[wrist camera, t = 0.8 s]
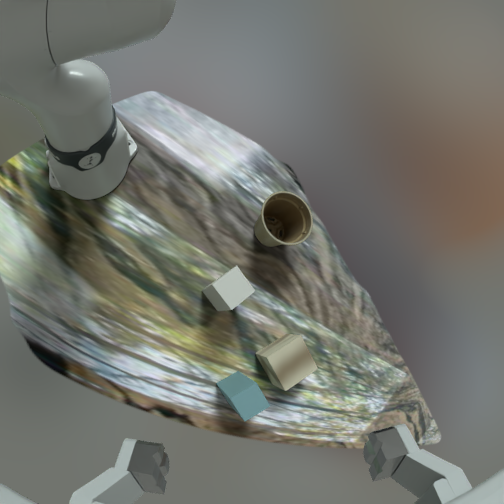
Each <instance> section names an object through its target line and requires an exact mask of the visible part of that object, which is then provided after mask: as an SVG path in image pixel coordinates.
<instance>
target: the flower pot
mask: <svg viewBox="0 0 504 504" xmlns="http://www.w3.org/2000/svg"><path fill="white" fill-rule="evenodd" d="M268 218H271V219H274V221H272V220H269V219H268ZM312 227H313V218H312V214H311V211H310V209H309V207H308V205H307V204H306V202H305V201H304V200H303V199H302V198H300V197H299V196H297V195H296V194H293V193H291V192H286V191H280V192H276V193H273V194H271V195H270V196H269V197H268V198H267V199H266V200H265V202H264V204H263V206H262V210H261V215H260V217H259V218H258V220H257V221H256V223H255V227H254V232H255V235H256V237H257V239H258V240H259V241H260V243H262V244H263V245H265V246H269V247H274V246H278V245H282V244H284V245H297V244H300V243H302V242H303V241H305V240H306V239H307V238H308V236H309V235H310V233H311V231H312ZM270 229H271V231H269V230H270ZM280 231H282V235H281V237H280V236H279V235H280Z"/></svg>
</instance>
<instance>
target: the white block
mask: <svg viewBox="0 0 504 504" xmlns="http://www.w3.org/2000/svg"><path fill="white" fill-rule="evenodd" d="M202 291H203V293H204V294H205V295H206V297H207V298H208V299H209V301H210V302H211V303H212V305H213V306H214V307H215V309H216V310H217V311H226V310H232V309H234V308H235V307H236V306H237V305H239V304H240V303H241V302H242V301H244V300H245V299H246V298H247V297H248V296H250V295H251V294H252V293H253V292H255V290H254V288H253V287H252V286H251V284H250V283H249V282H248V280H247V279H246V278H245V276H244V275H243V273H242V272H241V271H240V269H239V268H238V267H237V266H236V267H234V268H232V269H231V270H229V271H228V272H226V273H225V274H223V275H222V276H220V277H219V278H218V279H216V280H215V281H214V282H212V283H211V284H210V285H208V286H207V287H206V288H204V289H203V290H202Z"/></svg>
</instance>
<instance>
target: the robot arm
mask: <svg viewBox="0 0 504 504" xmlns="http://www.w3.org/2000/svg"><path fill="white" fill-rule="evenodd" d="M175 4H176V0H0V95H1V96H4V97H7V98H9V99H11V100H14V101H15V102H17V103H19V104H21V105H22V106H24V107H25V108H27V109H28V110H29V111H30V112H31V113H32V114H33V115H34V116H35V117H36V119H37V121H38V122H39V124H40V126H41V127H42V129H43V131H44V133H45V145H46V147H47V148H48V149H49V150H48V151H46V156H47V158H49V161H48V165H49V184H50V186H51V188H53V189H56V190H63V191H65V192H67V193H68V194H70V195H71V196H73V197H75V198H78V199H84V200H90V199H96V198H99V197H102V196H104V195H106V194H108V193H109V192H111V191H112V190H113V189H115V188H116V187H117V186H118V185H119V183H120V182H121V181H122V179H123V178H124V176H125V174H126V171H127V168H128V165H129V162H130V160H131V159H132V158H133V157H134V156H135V154H136V153H137V151H138V148H137V145H136V143H135V142H134V141H133V139H132V138H131V136H130V135H129V134H128V132H127V131H126V129H125V128H124V126H123V125H122V124H121V122H120V121H119V119H118V118H117V116H116V114H115V110H114V108H113V106H112V103H111V94H110V84H109V80H108V77H107V76H106V74H105V73H104V72H103V70H102V69H101V68H100V67H98V66H97V65H96V64H94V63H92V62H89V61H86V60H81V59H82V58H86V57H90V56H94V55H99V54H104V53H109V52H114V51H117V50H120V49H123V48H126V47H129V46H132V45H136V44H139V43H142V42H144V41H148V40H151V39H154V38H155V37H156V36H157V35H158V34H159V33H160V32H161V31H162V30H163V29H164V28H165V26H166V25H167V24H168V22H169V20H170V19H171V16H172V14H173V12H174V8H175ZM129 144H130V146H129ZM368 438H369V441H368V442H366V443H365V446H364V458H365V461H366V462H367V463H368V464H370V465H371V466H370V468H369V472H370V474H371V477H372V480H373V481H377V480H381V479H385V478H388V477H391V478H392V479H394V480H395V481H396V482H398V483H399V484H400V485H402V486H403V487H404V488H406V489H407V490H408V491H410V492H411V493H412V494H414V495H415V496H417V497H418V498H419V499H418V500H417V501H416V502H415V503H414V504H504V468H503V469H501V470H500V471H498V472H497V473H496V474H494V475H493V476H491V477H490V478H488V479H487V480H485V481H484V482H482V483H480V484H479V485H477V486H475V487H474V488H472V487H471V485H470V483H469V481H468V480H467V478H466V476H465V474H464V472H463V471H462V469H461V468H459V467H457V466H455V465H453V464H451V463H449V462H447V461H445V460H443V459H441V458H439V457H437V456H435V455H433V454H431V453H429V452H427V451H425V450H423V449H421V450H419V447H418V445H417V444H416V442H415V440H414V438H413V436H412V435H411V433H410V431H409V429H408V428H407V426H406V425H405V424H400V425H397V426H393V427H388V428H385V429H381V430H377V431H373V432H371V433H370V434H369V436H368ZM164 449H165V448H164V446H163V444H161V443H154V442H147V441H140V440H135V439H129V438H126V439H125V440H124V441H123V444H122V447H121V450H120V452H119V455H118V458H117V461H116V464H115V467H114V468H112V467H111V468H109V469H108V470H107V471H105V472H104V473H102V474H101V475H99V476H98V477H96V478H95V479H93V480H92V481H90V482H89V483H87V484H86V485H84V486H83V487H82V488H80V489H78V490H76V491H75V492H74V493H73V495H72V497H71V499H70V502H69V504H133V503H134V502H135V501H136V500H137V499H138V498H139V497H140V496H141V495H142V494H143V493H144V492H150V493H158V494H164V492H165V487H166V480H165V478H164V476H166V475H167V474H168V471H169V458H168V455H167V454H166V453H165V452H164ZM0 504H38V503H36V502H34V501H32V500H30V499H28V498H26V497H25V496H23V495H21V494H19V493H17V492H15V491H14V490H12V489H11V488H9V487H8V486H6V485H4V484H2V483H0Z"/></svg>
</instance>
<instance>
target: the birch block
mask: <svg viewBox="0 0 504 504" xmlns="http://www.w3.org/2000/svg"><path fill="white" fill-rule="evenodd" d="M255 354H256V356H257V358H258V360H259V362H260V363H261V365H262V367H263V369H264V370H265V372H266V374H267V376H268V378H269V379H270V381H271V383H272V384H273V385H275V386H277V387H278V388H280V389H282V390H284V391H287V390H288V389H290V388H291V387H293V386H294V385H295V384H297V383H298V382H300V381H301V380H303V379H304V378H305V377H307V376H308V375H310V374H311V373H312V372H314V371H315V370H317V369H318V368H317V366H316V364H315V362H314V360H313V358H312V356H311V354H310V352H309V350H308V348H307V346H306V344H305V342H304V340H303V338H302V336H301V335H291V334H286V335H284V336H282V337H281V338H279V339H278V340H276V341H274V342H273V343H271V344H270V345H268V346H266V347H265V348H263V349H261V350H260V351H258V352H256V353H255Z"/></svg>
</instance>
